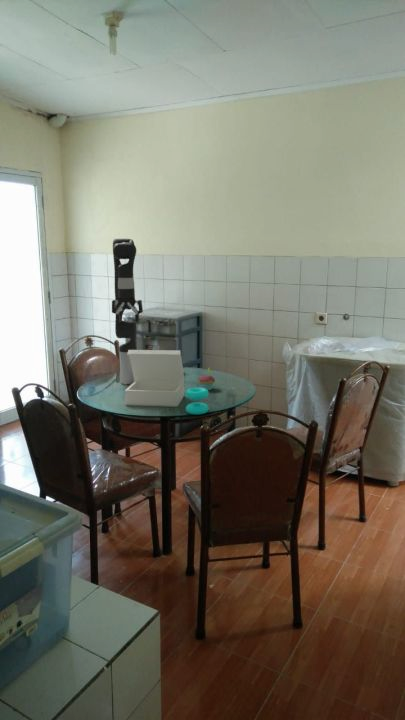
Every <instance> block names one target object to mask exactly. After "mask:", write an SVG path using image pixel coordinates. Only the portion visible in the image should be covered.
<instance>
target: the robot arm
mask: <svg viewBox="0 0 405 720" xmlns="http://www.w3.org/2000/svg"><path fill="white" fill-rule="evenodd" d="M112 255H113V257H112V258H113V267H114V268H113V269H114V299H113V300H112V301H111V313H112V314H115V321H114V322H115V324H114V325H115V327H114V328H115V331H114V332H115V336H116V338H117V339H129V341H127V342H126V343H122V344H120V345H119V346H118V350H119V351H118V352H119V372H120V374H119V375H120V384H123V385H131V384H133V383H134V382H135V381H134V376H133V371H132V367H131V362H130V357H129V355H127V353H128V350H138V347H137V334H138V333H137V332H138V331H137V328H138V327H137V323H138V322H139V321H140V314H142V313H143V312H144V310H143V301H142V299H138V300H136V294H135V293H136V289H135V288H136V287H135V279H134V264H135V263H134V262H135V259H136V255H137V246H136V245H135V241H134V240H133V239H131V238H113V241H112ZM121 260H128V262H126V263H124V264H122V262H121ZM135 305H137V306H138V309H137V307H136V306H135ZM125 310H132V311H133V313H134V314H135V315H134V317H135V318H134V320H123V316H124V312H125Z"/></svg>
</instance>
